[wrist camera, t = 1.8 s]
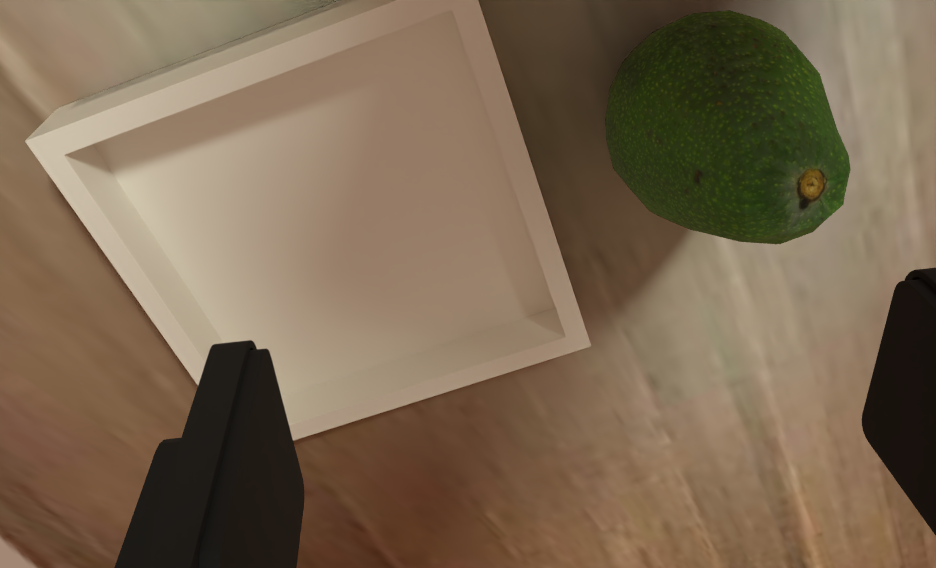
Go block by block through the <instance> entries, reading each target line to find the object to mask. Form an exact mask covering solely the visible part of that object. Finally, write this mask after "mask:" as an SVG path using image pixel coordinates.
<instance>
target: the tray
mask: <svg viewBox="0 0 936 568" xmlns="http://www.w3.org/2000/svg"><path fill="white" fill-rule="evenodd" d="M25 142H26V143H27V145H28V146H29V147H30V149H31V150H32V152H33V153H34V155H35V156H36V157H37V159H38V160H39V162H40V163H41V164H42V166H43V167H44V169H45V170H46V171H47V173H48V174H49V176H50V177H51V179H52V180H53V181H54V183H55V184H56V186H57V187H58V188H59V190H60V191H61V193H62V194H63V196H64V197H65V198H66V200H67V201H68V203H69V204H70V205H71V207H72V208H73V210H74V211H75V212H76V214H77V215H78V217H79V218H80V220H81V221H82V222H83V224H84V225H85V227H86V228H87V229H88V231H89V232H90V234H91V235H92V237H93V238H94V239H95V241H96V242H97V244H98V245H99V246H100V248H101V249H102V251H103V252H104V254H105V255H106V256H107V258H108V259H109V261H110V262H111V263H112V265H113V266H114V268H115V269H116V270H117V272H118V273H119V275H120V276H121V278H122V279H123V280H124V282H125V283H126V285H127V286H128V287H129V289H130V290H131V292H132V293H133V295H134V296H135V297H136V299H137V300H138V302H139V303H140V304H141V306H142V307H143V309H144V310H145V311H146V313H147V314H148V316H149V317H150V319H151V320H152V321H153V323H154V324H155V326H156V327H157V328H158V330H159V331H160V333H161V334H162V336H163V337H164V338H165V340H166V341H167V343H168V344H169V345H170V347H171V348H172V350H173V351H174V352H175V354H176V355H177V357H178V358H179V360H180V361H181V362H182V364H183V365H184V367H185V368H186V369H187V371H188V372H189V374H190V375H191V377H192V378H193V379H194V381H195V382H196V384H197V385H199V382H200V379H201V375H202V372H203V369H204V366H205V363H206V360H207V357H208V354H209V350H210V348H211V346H212V345H214V344H219V343H229V342H238V341H248V340H252V341H253V342H254V343H255V345H256V348H257V349H268V350H269V352H270V355H271V358H272V362H273V366H274V370H275V374H276V377H277V381H278V385H279V389H280V393H281V397H282V400H283V404H284V408H285V412H286V416H287V420H288V424H289V427H290V431H291V435H292V439H293V441H294V440H297V439H300V438H303V437H306V436H309V435H313V434H316V433H319V432H322V431H325V430H328V429H332V428H335V427H338V426H341V425H344V424H347V423H350V422H354V421H357V420H360V419H363V418H366V417H369V416H373V415H376V414H379V413H382V412H385V411H388V410H392V409H395V408H398V407H401V406H404V405H407V404H411V403H414V402H417V401H420V400H423V399H426V398H430V397H433V396H436V395H439V394H442V393H445V392H449V391H452V390H455V389H458V388H461V387H464V386H468V385H471V384H474V383H477V382H480V381H483V380H486V379H490V378H493V377H496V376H499V375H502V374H505V373H509V372H512V371H515V370H518V369H521V368H524V367H528V366H531V365H534V364H537V363H540V362H543V361H547V360H550V359H553V358H556V357H559V356H562V355H566V354H569V353H572V352H575V351H578V350H581V349H585V348H588V347H591V344H590V341H589V338H588V335H587V331H586V328H585V325H584V322H583V319H582V316H581V313H580V310H579V307H578V304H577V301H576V298H575V295H574V292H573V289H572V286H571V283H570V279H569V276H568V273H567V270H566V267H565V264H564V261H563V258H562V255H561V252H560V249H559V246H558V243H557V240H556V237H555V234H554V230H553V227H552V224H551V221H550V218H549V215H548V212H547V209H546V206H545V203H544V200H543V197H542V194H541V191H540V188H539V185H538V181H537V178H536V175H535V172H534V169H533V166H532V163H531V160H530V157H529V154H528V151H527V148H526V145H525V142H524V139H523V136H522V132H521V129H520V126H519V123H518V120H517V117H516V114H515V111H514V108H513V105H512V102H511V99H510V96H509V93H508V90H507V87H506V84H505V80H504V77H503V74H502V71H501V68H500V65H499V62H498V59H497V56H496V53H495V50H494V47H493V44H492V41H491V38H490V35H489V31H488V28H487V25H486V22H485V19H484V16H483V13H482V10H481V7H480V4H479V1H478V0H340V1H337V2H334V3H332V4H329V5H326V6H324V7H321V8H319V9H316V10H313V11H311V12H308V13H306V14H303V15H300V16H298V17H295V18H292V19H290V20H287V21H285V22H282V23H279V24H277V25H274V26H272V27H269V28H266V29H264V30H261V31H258V32H256V33H253V34H251V35H248V36H245V37H243V38H240V39H238V40H235V41H232V42H230V43H227V44H224V45H222V46H219V47H217V48H214V49H211V50H209V51H206V52H204V53H201V54H198V55H196V56H193V57H190V58H188V59H185V60H183V61H180V62H177V63H175V64H172V65H170V66H167V67H164V68H162V69H159V70H156V71H154V72H151V73H149V74H146V75H143V76H141V77H138V78H136V79H133V80H130V81H128V82H125V83H122V84H120V85H117V86H115V87H112V88H109V89H107V90H104V91H102V92H99V93H96V94H94V95H91V96H88V97H86V98H83V99H81V100H78V101H75V102H73V103H70V104H68V105H65V106H62V107H60V108H57V109H56V110H55V111H54V112H53V113H52V114H51V115H50V116H49V117H48V118H47V119H46V120H45V121H44V122H43V123H42V124H41V125H40V126H39V127H38V128H37V129H36V130H35V131H34V132H33V133H32V134H31V135H30V136H29V137H28V138H27V139H26V140H25Z"/></svg>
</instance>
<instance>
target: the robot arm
mask: <svg viewBox="0 0 936 568" xmlns="http://www.w3.org/2000/svg"><path fill="white" fill-rule="evenodd" d="M862 427H863V431H864V434H865V437H866V438H867V440H868V442H869V443H870V445H871V446H872V447H873V449H874V450H875V452H876V453H877V454H878V456H879V457H880V459H881V460H882V461H883V463H884V464H885V465H886V467H887V468H888V470H889V471H890V472H891V474H892V475H893V477H894V478H895V479H896V481H897V482H898V484H899V485H900V486H901V488H902V489H903V491H904V492H905V493H906V495H907V496H908V498H909V499H910V500H911V502H912V503H913V505H914V506H915V507H916V509H917V510H918V511H919V513H920V514H921V516H922V517H923V518H924V520H925V521H926V523H927V524H928V525H929V527H930V528H931V530H932V531H933V532H934V534H935V535H936V268H929V269H919V270H914V271H911V272H910V273H909V274H908V275H907V276H906V278H905V281H901V282H899V283H898V284H897V285H896V287H895V290H894V293H893V297H892V301H891V305H890V309H889V313H888V317H887V321H886V325H885V328H884V332H883V336H882V340H881V344H880V348H879V352H878V356H877V360H876V364H875V367H874V371H873V375H872V379H871V383H870V387H869V391H868V395H867V399H866V402H865V406H864V410H863V414H862ZM303 508H304V484H303V478H302V474H301V470H300V466H299V462H298V458H297V454H296V451H295V447H294V443H293V439H292V435H291V431H290V427H289V424H288V420H287V416H286V412H285V408H284V404H283V400H282V397H281V393H280V389H279V385H278V381H277V377H276V374H275V370H274V366H273V362H272V358H271V355H270V352H269V350H268V349H257V348H256V345H255V343H254V342H253V341H252V340H248V341H238V342H229V343H219V344H214V345H212V346H211V348H210V350H209V354H208V357H207V360H206V363H205V366H204V369H203V372H202V375H201V379H200V382H199V385H198V388H197V391H196V394H195V397H194V400H193V404H192V407H191V410H190V413H189V416H188V419H187V422H186V425H185V429H184V432H183V435H182V438H175V439H166V440H163V441H162V442H161V443H160V444H159V446H158V448H157V450H156V452H155V454H154V457H153V460H152V463H151V466H150V469H149V472H148V474H147V477H146V480H145V483H144V486H143V489H142V491H141V494H140V497H139V500H138V503H137V506H136V508H135V511H134V514H133V517H132V520H131V523H130V525H129V528H128V531H127V534H126V537H125V540H124V543H123V545H122V548H121V551H120V554H119V557H118V560H117V562H116V565H115V568H296V565H297V557H298V549H299V541H300V532H301V524H302V516H303Z"/></svg>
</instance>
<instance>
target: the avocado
mask: <svg viewBox="0 0 936 568" xmlns="http://www.w3.org/2000/svg"><path fill="white" fill-rule="evenodd" d="M605 121H606V140H607V144H608V148H609V152H610V156H611V160H612V164H613V169H614V170H615V171H616V172H617V173H618V175H619V176H620V177H621V178H622V179H623V181H624V182H625V183H626V184H627V186H628V187H629V188H630V189H631V190H632V191H633V193H634V194H635V195H636V196H637V197H638V198H639V199H640V201H641V202H642V203H643V204H644V205H645V206H646V207H647V209H648V210H649V211H651V212H653V213H655V214H656V215H658V216H660V217H663V218H665V219H667V220H669V221H672V222H674V223H676V224H678V225H681V226H683V227H685V228H688V229H690V230H695V231H699V232H703V233H707V234H712V235H716V236H719V237H723V238H727V239H732V240H736V241H740V242H753V243H767V244H781V243H784V242H787V241H789V240H792V239H795V238H798V237H800V236H803V235H806V234H808V233H811V232H813V231H814V230H815V229H816V228H817V227H819V226H820V225H821V224H822V223H823V222H824V221H825V220H826V219H827V218H828V217H829V216H831V215H832V214H833V213H834V212H835V211H836V210H838V209H839V208H840V207H841V206H842V205H843V202H844V196H845V192H846V187H847V182H848V178H849V173H850V163H849V156H848V153H847V151H846V149H845V146H844V144H843V142H842V140H841V137H840V135H839V133H838V131H837V128H836V125H835V121H834V118H833V115H832V112H831V109H830V106H829V103H828V100H827V96H826V93H825V90H824V87H823V83H822V80H821V77H820V74H819V72H818V71H817V70H816V69H815V68H814V66H813V65H812V64H811V63H810V62H809V60H808V59H807V58H806V57H805V56H804V54H803V53H802V52H801V51H800V50H799V49H798V48H797V46H796V45H795V44H794V43H793V42H792V41H791V40H790V39H789V37H788V36H787V35H786V34H785V33H784V32H782V31H781V30H779V29H778V28H776V27H774V26H773V25H771V24H768V23H766V22H764V21H762V20H760V19H757V18H753V17H750V16H746V15H743V14H740V13H736V12H733V11H717V12H706V13H694V14H691V15H688V16H685V17H683V18H681V19H679V20H677V21H675V22H673V23H671V24H669V25H667V26H665V27H663V28H661V29H659V30H657V31H655V32H653V33H652V34H651V35H649V36H648V37H647V38H646V39H645V40H644V41H643V42H642V43H641V44H640V45H638V46H637V47H636V48H635V49H634V50H633V51H632V52H631V53H630V54H629V55H628V57H627V58H626V59H625V61H624V62H623V63H622V65H621V67H620V69H619V71H618V73H617V75H616V77H615V79H614V81H613V83H612V85H611V87H610V91H609V98H608V105H607V112H606V119H605Z"/></svg>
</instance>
